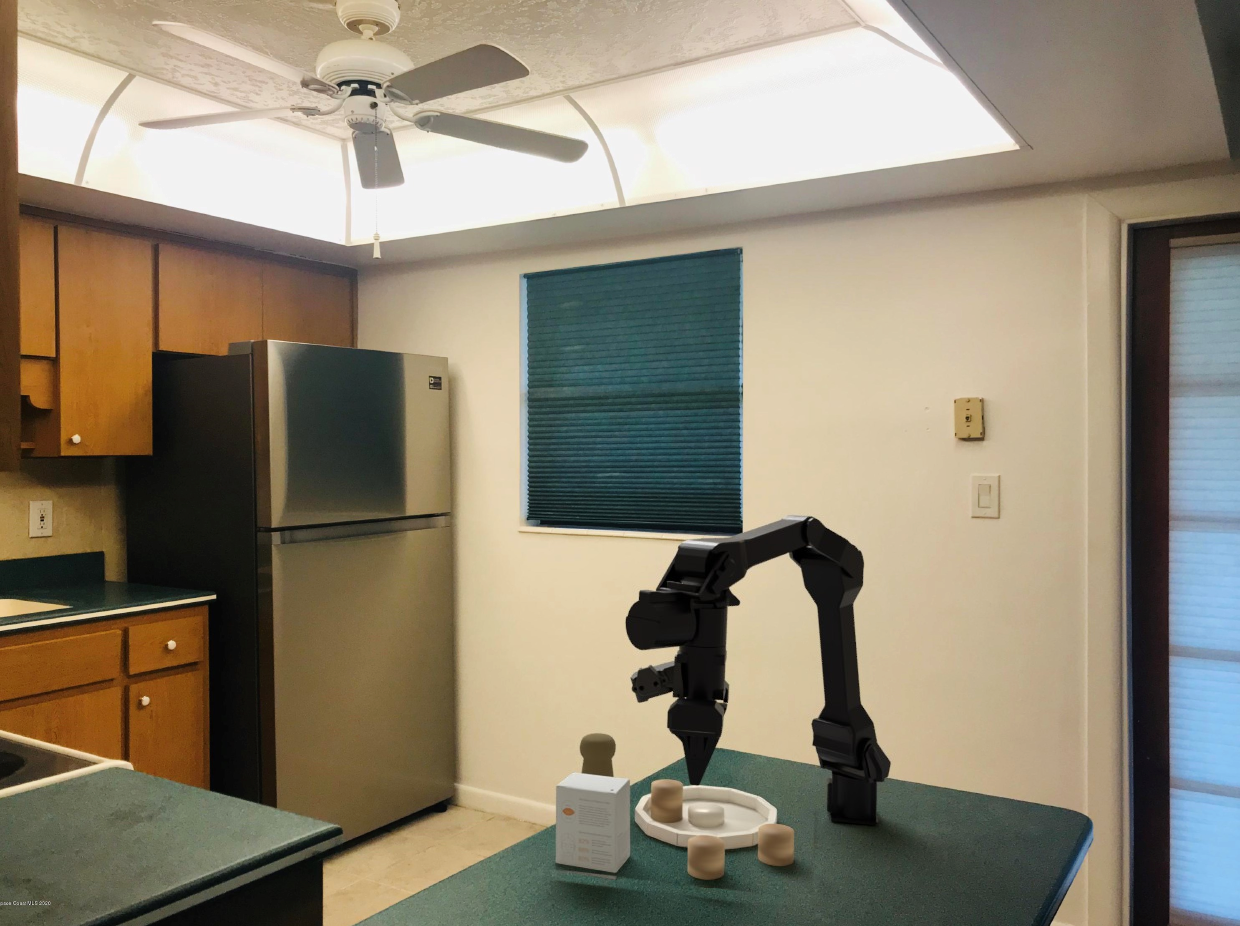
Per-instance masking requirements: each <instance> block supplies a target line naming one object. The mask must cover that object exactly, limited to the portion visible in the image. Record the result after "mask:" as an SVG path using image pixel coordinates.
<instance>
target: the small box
mask: <svg viewBox="0 0 1240 926" xmlns="http://www.w3.org/2000/svg"><path fill="white" fill-rule="evenodd" d="M630 856H631V779H629V778H623V777H615V776H614V777H608V776H599V775H591V774H582V773H581V772H572V773H570V774H569V775H567V777H565V778H564V779H563V780H562V781H561V782H559V783H558V784H557V785H556V786H555V863H556V864H560V865H565V866H571V867H580V868H584V869H590V870H597V871H603V872H609V873H618V871H619V870H620V869H621V868H622V867H623V866H624V864H625V863H626V862H627V860H628V859H629V858H630ZM555 871H557V872H565V873H569V874H576V875H583V876H588V877H589V876H590V877H595V878H599V879H608V880H614V881H615V880H617V878H618V877H619V876H617V875H610V874H600V873H591V872H584V871H583V872H582V871H575V870H567V869H566V870H565V869H557V868H556V869H555Z"/></svg>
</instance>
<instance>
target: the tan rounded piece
mask: <svg viewBox="0 0 1240 926" xmlns="http://www.w3.org/2000/svg"><path fill="white" fill-rule="evenodd" d="M725 851H726V849H725V842H724V841H723V840H722V839H720V838H718V837H715V836H709V835H699V836H694V837H691V838H690V839H689V840H688V847H687V873H688V875H690V876H691V877H693V878H696V879H699V880H706V881H707V880H716V879H717V880H718V879H720V878H722V877H723V876H724V875H725V853H726V852H725ZM697 886H699V887H698V888H701V887H704V889H714V888H715V887H714V886H706V885H697ZM697 886H696V887H697Z"/></svg>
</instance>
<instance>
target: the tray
mask: <svg viewBox="0 0 1240 926" xmlns="http://www.w3.org/2000/svg"><path fill="white" fill-rule="evenodd" d="M634 821H635V823H636V824H637V826H639V828H640V829H641V830H642V831H643V832H644V834H645V835H647V836H648V837H652V838H655V839H657V840H660V841H661V842H665V843H667V844H669V845H670V844H671V845H673V846H677V847H683V848H688V840H689V839H690V838H691V837H694V836H699V835H709V836H715V837H718V838H720V839H722V840H723V841H724V842H725V850H730V849H732V850H733V849H740V848H741V849H742V848H747V847H753V846H756V845H758V829H759V827H760V826H762V825H765V824H778V823H777V822H778V810H777V808H776V807H775V806H773V804H770V803H769V802H768V801H767V800H765V799H764V798H763V797H761V796H759V795H755V794H752V793H749V792H746V791H742V790H739V789H736V788H731V787H722V786H710V785H698V786H696V785H683V816H682V820H680V821H678V822H674V823H662V822H657V821H655V820H653V819H652V818H651V792H650V793H648V794H645V795H643V796H641V798H640V800H639V801H638V803H637V805H636V807H635V808H634Z"/></svg>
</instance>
